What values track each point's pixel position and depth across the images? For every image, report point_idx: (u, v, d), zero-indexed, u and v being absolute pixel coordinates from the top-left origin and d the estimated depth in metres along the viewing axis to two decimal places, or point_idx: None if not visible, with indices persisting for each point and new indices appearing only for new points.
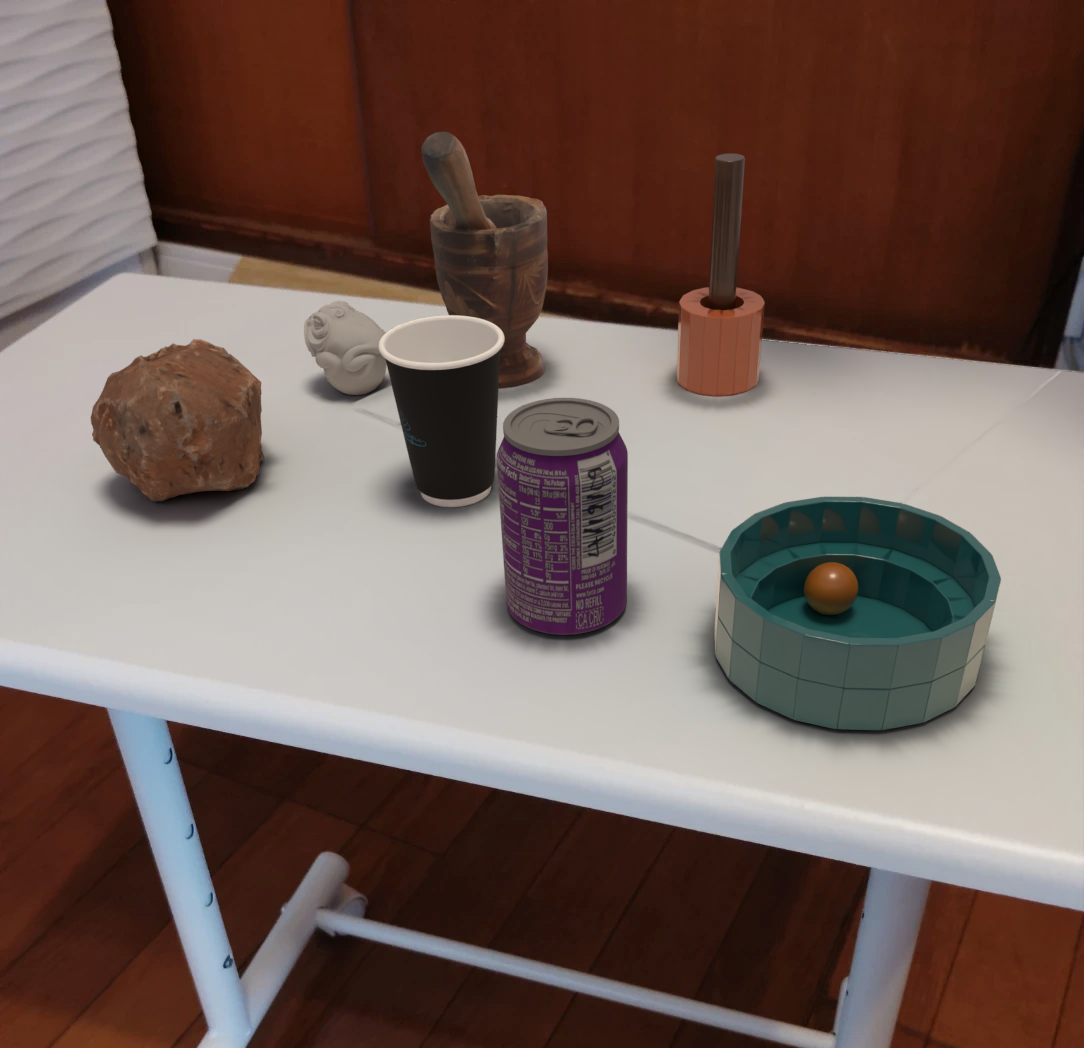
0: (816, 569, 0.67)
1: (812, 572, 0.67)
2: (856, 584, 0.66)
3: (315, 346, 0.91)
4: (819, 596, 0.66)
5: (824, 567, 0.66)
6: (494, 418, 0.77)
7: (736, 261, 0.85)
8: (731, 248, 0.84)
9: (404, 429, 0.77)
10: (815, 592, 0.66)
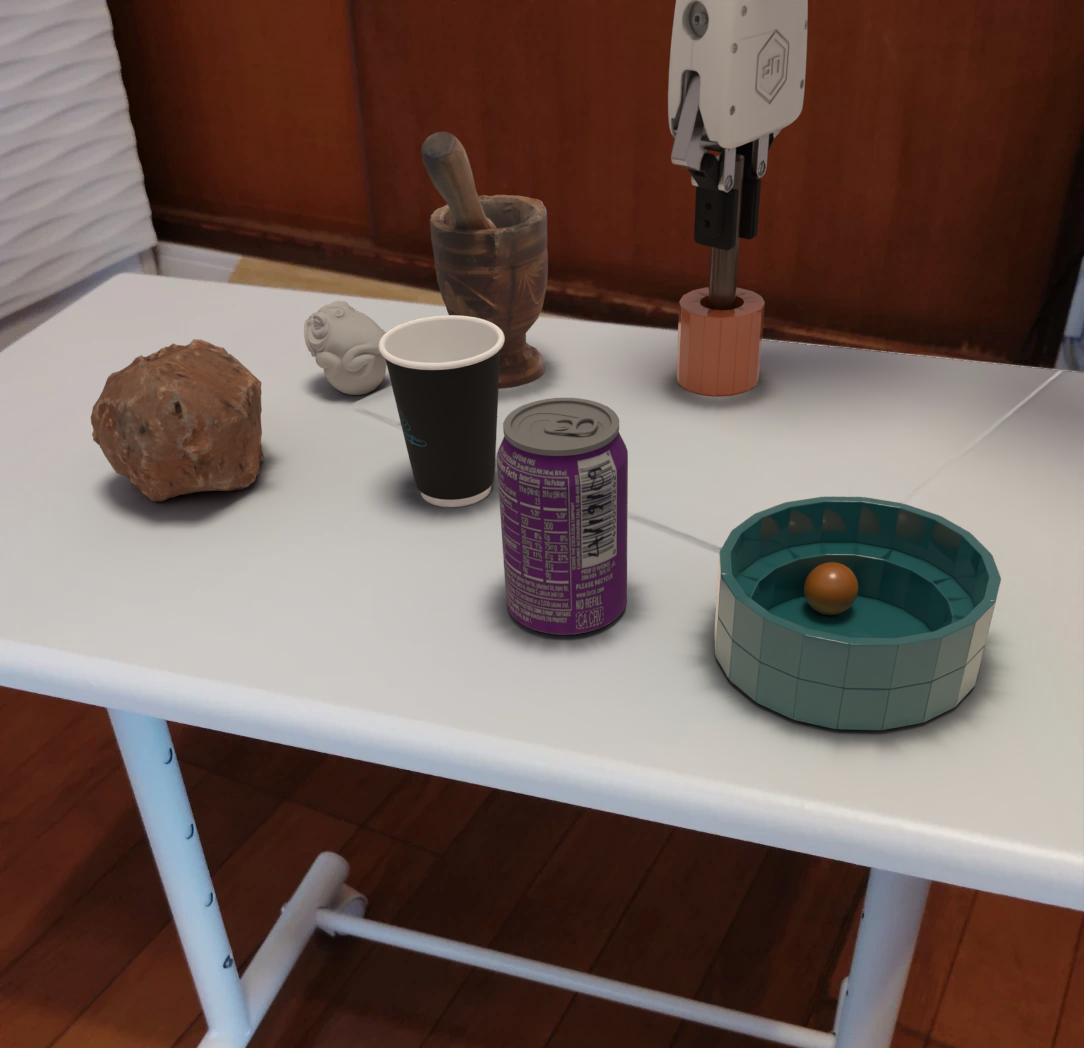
0: (816, 569, 0.67)
1: (812, 572, 0.67)
2: (856, 584, 0.66)
3: (315, 346, 0.91)
4: (819, 596, 0.66)
5: (824, 567, 0.66)
6: (494, 418, 0.77)
7: (736, 261, 0.85)
8: None
9: (404, 429, 0.77)
10: (815, 592, 0.66)
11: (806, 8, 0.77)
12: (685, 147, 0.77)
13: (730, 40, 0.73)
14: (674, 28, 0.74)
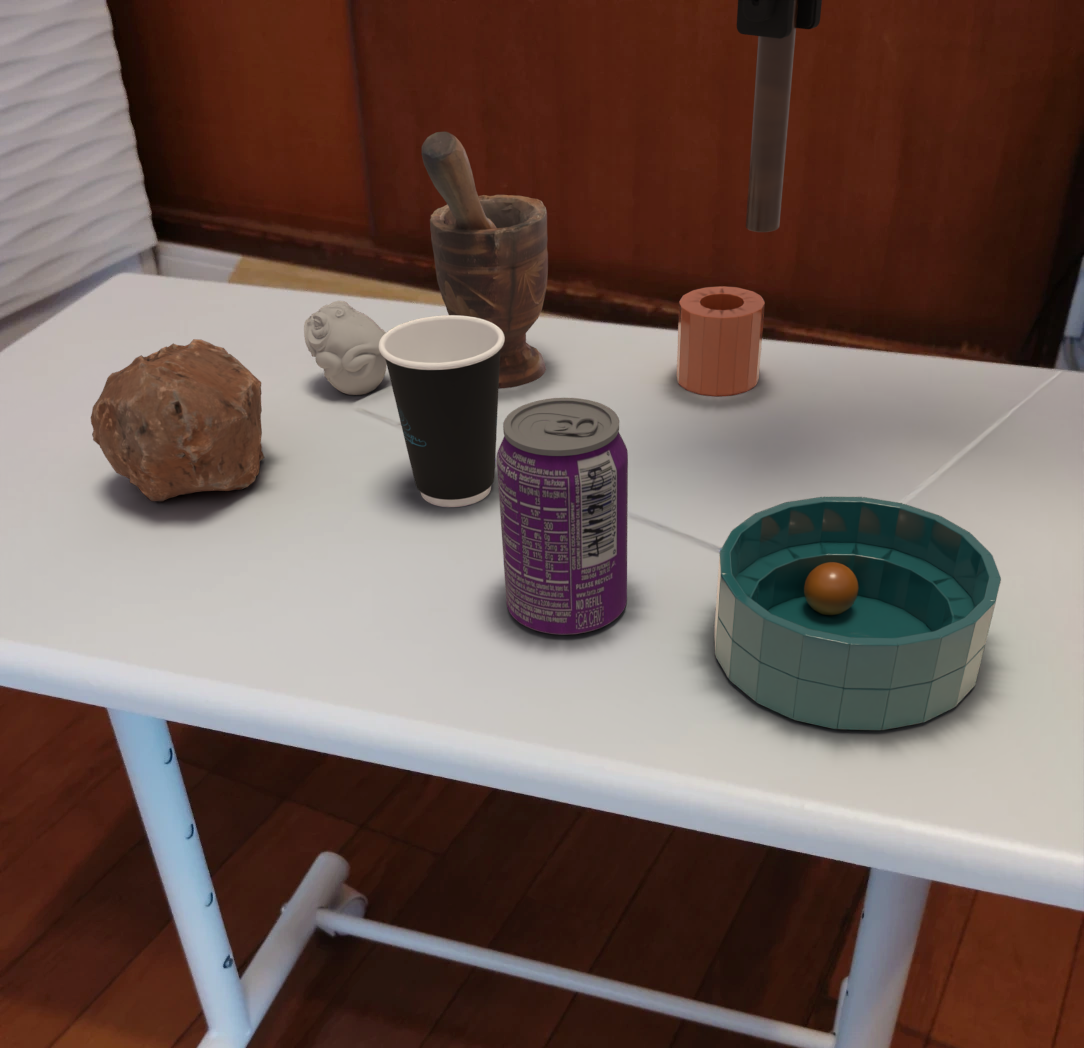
0: (816, 569, 0.67)
1: (812, 572, 0.67)
2: (856, 584, 0.66)
3: (315, 346, 0.91)
4: (819, 596, 0.66)
5: (824, 567, 0.66)
6: (494, 418, 0.77)
7: (791, 59, 0.65)
8: (785, 39, 0.64)
9: (404, 429, 0.77)
10: (815, 592, 0.66)
11: None
12: None
13: None
14: None
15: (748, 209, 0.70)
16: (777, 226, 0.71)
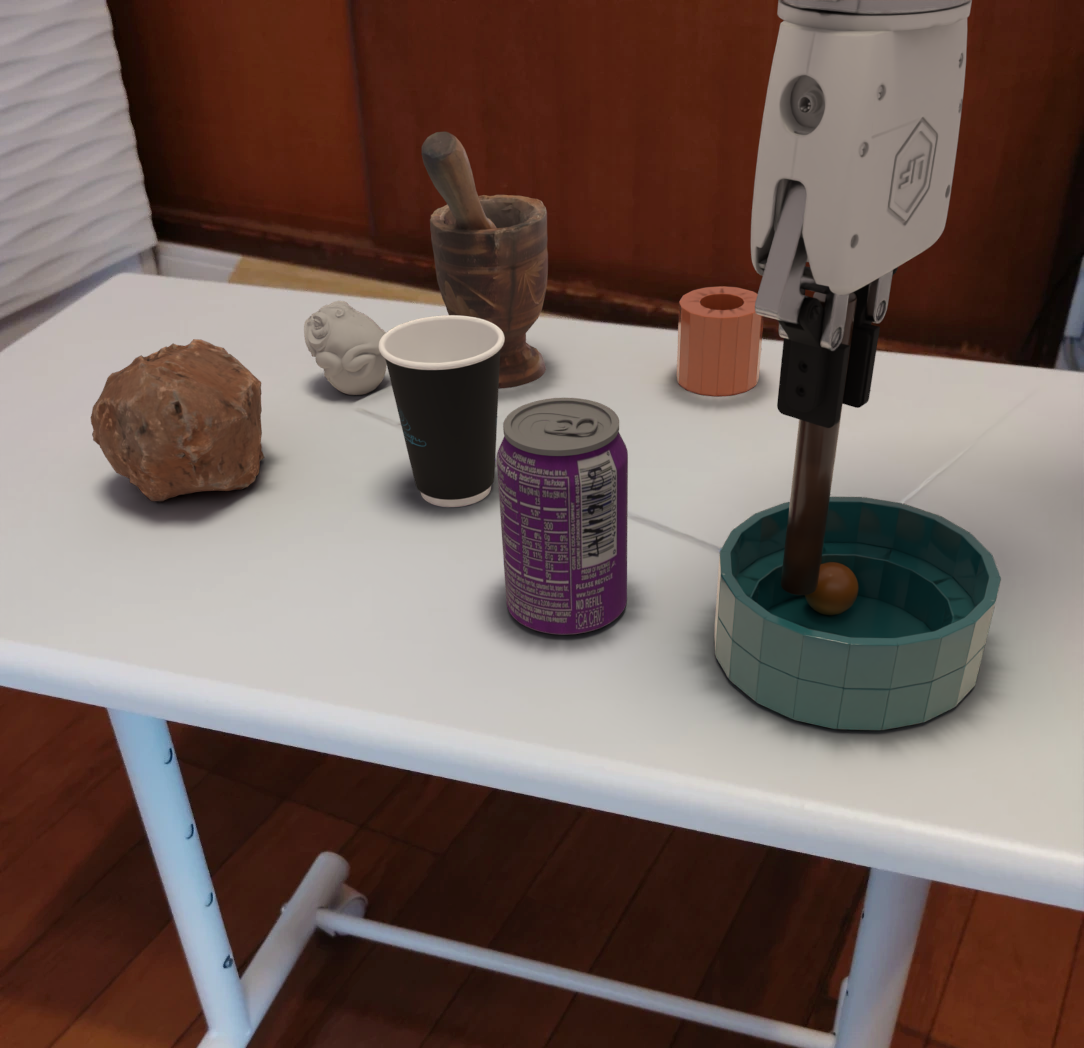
0: None
1: None
2: (856, 584, 0.66)
3: (315, 346, 0.91)
4: (819, 596, 0.66)
5: (824, 567, 0.66)
6: (494, 418, 0.77)
7: (836, 437, 0.59)
8: None
9: (404, 429, 0.77)
10: (815, 592, 0.66)
11: (963, 81, 0.50)
12: (778, 293, 0.50)
13: (858, 137, 0.46)
14: (766, 115, 0.48)
15: (784, 571, 0.64)
16: (816, 588, 0.65)
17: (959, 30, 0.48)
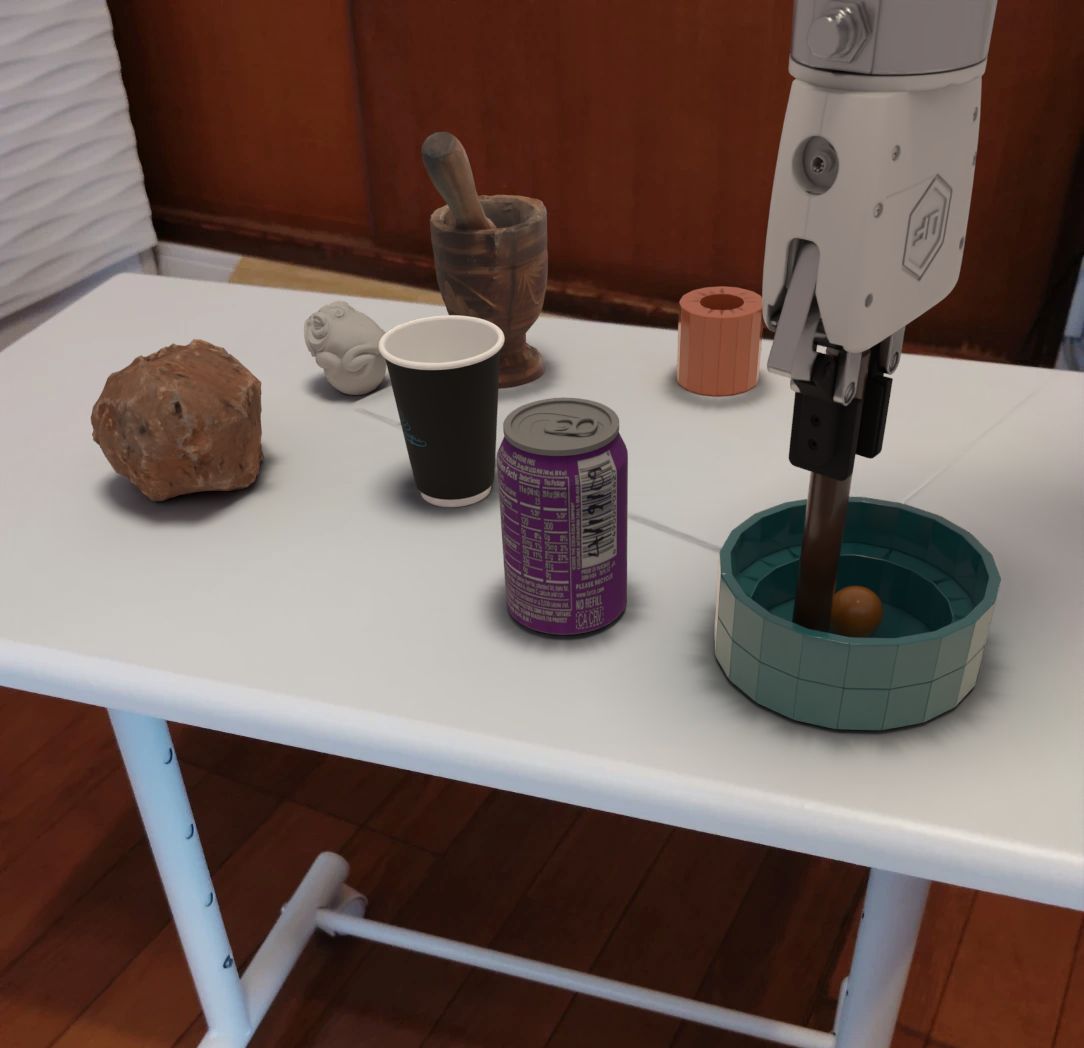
0: (840, 631, 0.65)
1: (838, 632, 0.65)
2: (874, 602, 0.64)
3: (315, 346, 0.91)
4: None
5: (846, 628, 0.64)
6: (494, 418, 0.77)
7: (848, 489, 0.58)
8: None
9: (404, 429, 0.77)
10: None
11: (977, 134, 0.50)
12: (791, 352, 0.49)
13: (873, 199, 0.45)
14: (778, 174, 0.47)
15: (795, 620, 0.63)
16: None
17: (973, 85, 0.47)
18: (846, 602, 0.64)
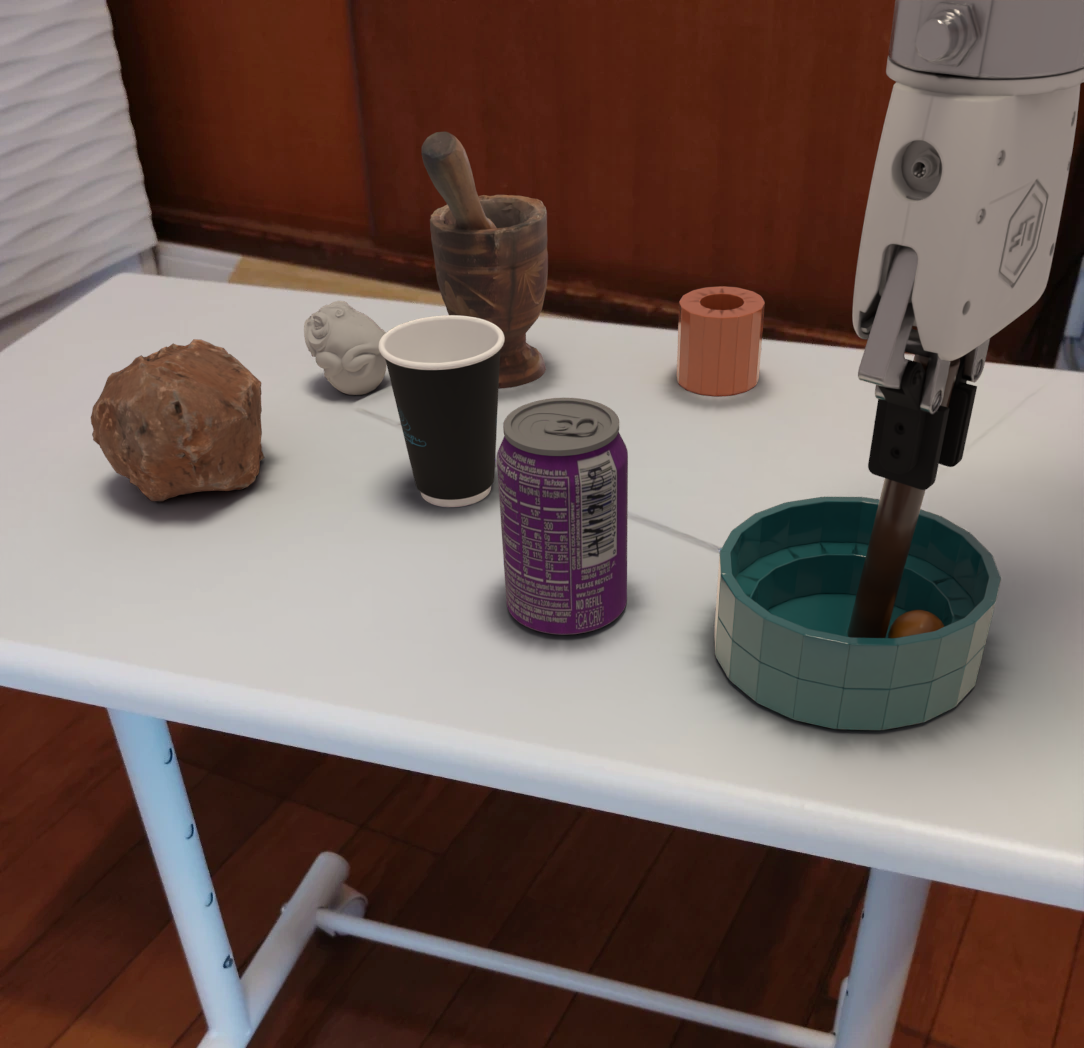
0: None
1: None
2: None
3: (315, 346, 0.91)
4: None
5: None
6: (494, 418, 0.77)
7: (923, 496, 0.57)
8: None
9: (404, 429, 0.77)
10: None
11: (1073, 139, 0.49)
12: (884, 359, 0.48)
13: (976, 204, 0.44)
14: (876, 178, 0.46)
15: (855, 624, 0.63)
16: None
17: (1074, 89, 0.47)
18: None
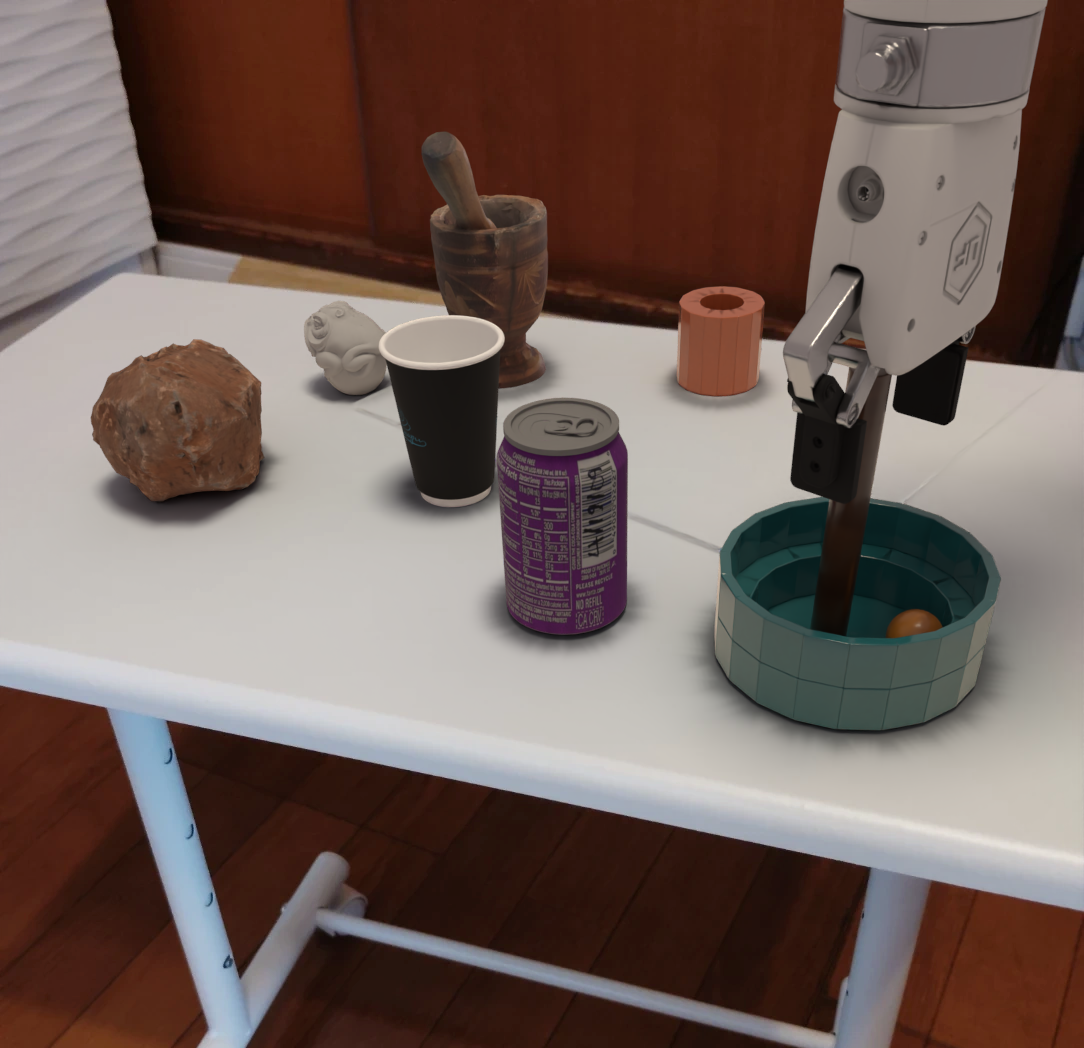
0: None
1: None
2: None
3: (315, 346, 0.91)
4: None
5: None
6: (494, 418, 0.77)
7: (869, 501, 0.60)
8: (865, 487, 0.59)
9: (404, 429, 0.77)
10: None
11: (1016, 162, 0.51)
12: (814, 334, 0.48)
13: (917, 227, 0.46)
14: (824, 201, 0.48)
15: (814, 629, 0.65)
16: None
17: (1014, 115, 0.49)
18: None
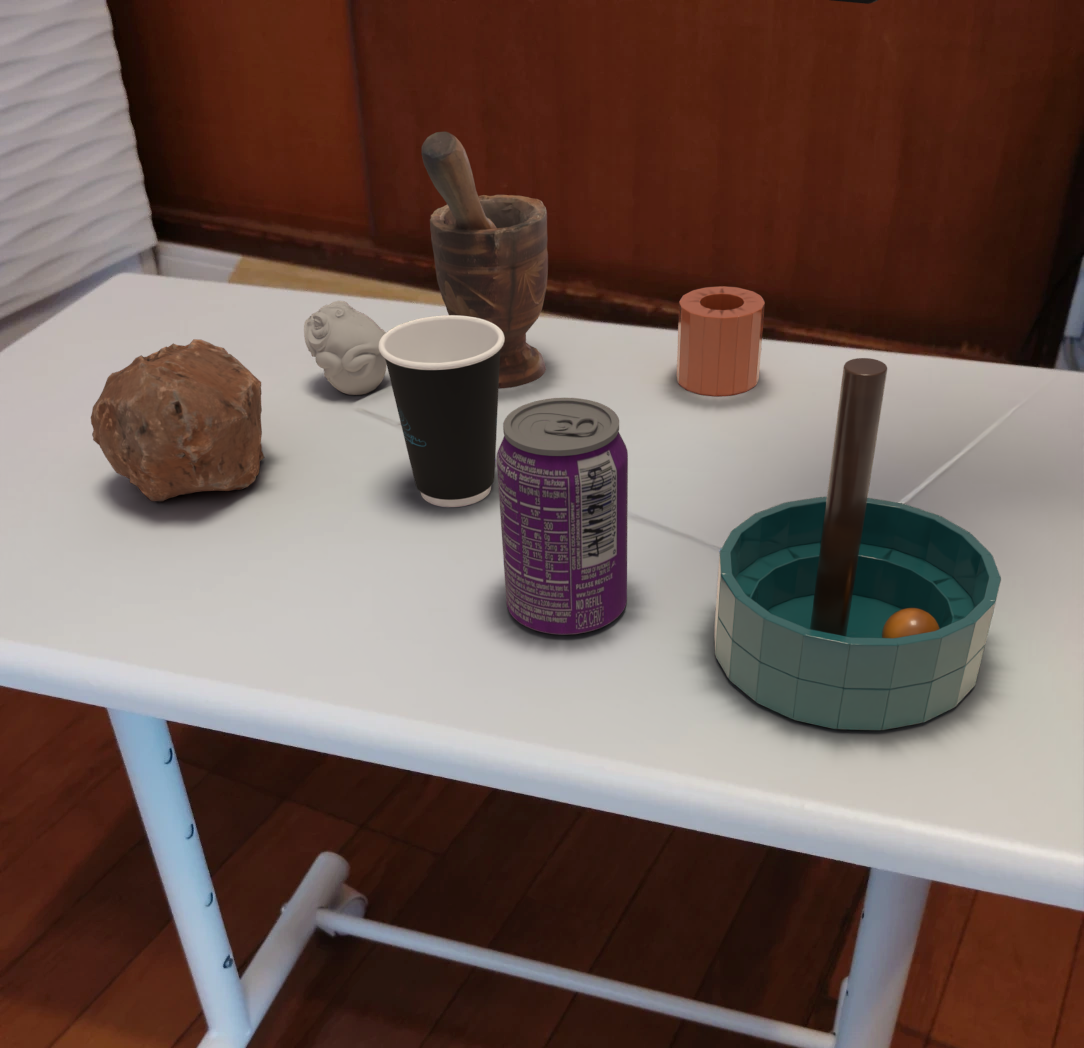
0: None
1: (925, 629, 0.62)
2: None
3: (315, 346, 0.91)
4: None
5: None
6: (494, 418, 0.77)
7: (866, 500, 0.60)
8: (862, 486, 0.59)
9: (404, 429, 0.77)
10: None
11: None
12: None
13: None
14: None
15: (814, 629, 0.65)
16: None
17: None
18: None
